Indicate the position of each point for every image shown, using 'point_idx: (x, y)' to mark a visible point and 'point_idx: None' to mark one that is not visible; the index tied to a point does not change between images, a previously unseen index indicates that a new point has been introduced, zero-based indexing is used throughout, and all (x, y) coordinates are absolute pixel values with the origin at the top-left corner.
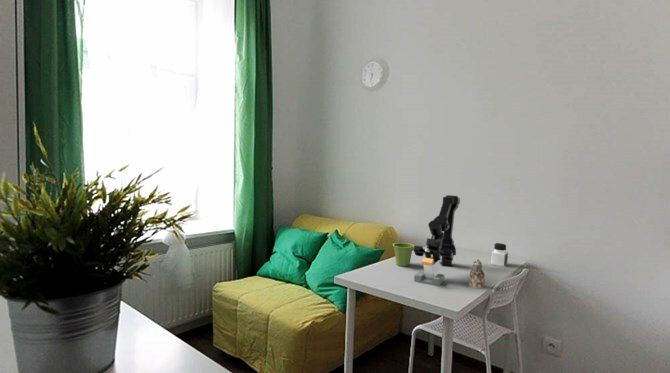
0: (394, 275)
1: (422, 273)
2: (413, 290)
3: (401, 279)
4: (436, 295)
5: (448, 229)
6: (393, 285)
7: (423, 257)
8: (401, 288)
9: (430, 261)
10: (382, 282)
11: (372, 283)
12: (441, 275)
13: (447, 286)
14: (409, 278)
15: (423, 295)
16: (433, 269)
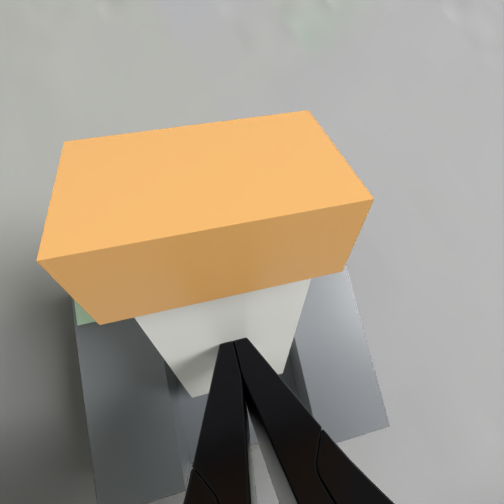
0: (500, 256)
1: (314, 344)
2: (210, 62)
3: (407, 210)
4: (26, 74)
5: None
6: (363, 63)
7: (367, 196)
8: (291, 46)
9: (109, 163)
10: (445, 67)
11: (469, 15)
12: (116, 454)
13: (30, 334)
14: (383, 279)
15: (106, 20)
16: (170, 364)
